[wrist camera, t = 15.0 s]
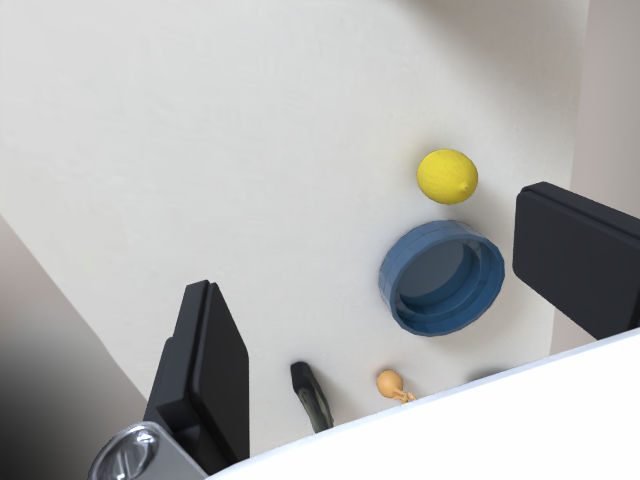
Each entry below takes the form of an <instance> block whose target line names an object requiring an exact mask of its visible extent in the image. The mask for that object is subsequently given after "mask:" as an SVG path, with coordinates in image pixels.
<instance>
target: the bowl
mask: <svg viewBox="0 0 640 480" xmlns="http://www.w3.org/2000/svg"><path fill="white" fill-rule="evenodd" d="M504 277H505V268H504V260H503V257H502V255H501V253H500V251H499V249H498V247H496V246H495V245H494V244H493V243H491V242H490V241H489V240H488V239H486V238H485V237H484V236H482V235H481V234H480V233H478V232H477V231H476V230H474V229H473V228H471V227H470V226H469V225H467V224H464V223H460V222H457V221H453V220H448V221H435V222H431V223H428V224H425V225H423V226H420V227H417V228H415V229H414V230H412V231H411V232H409V233H408V234H406V235H405V236H403V237H402V238H401V239H400V240H399V241H398V242H397V243H396V244H395V245H394V247H393V248H392V249H391V250H390V251H389V252H388V254H387V256H386V258H385V260H384V263H383V265H382V267H381V269H380V277H379V288H380V292H381V296H382V299H383V301H384V302H385V304H386V306H387V307H388V309H389V311H390V313H391V314H392V316H393V318H394V319H395V320H396V322H397V323H398V324H399V325H400V327H401V328H403V329H405V330H407V331H408V332H410V333H412V334H414V335H420V336H426V337H433V336H442V335H447V334H450V333H453V332H455V331H458V330H461V329H463V328H464V327H466V326H468V325H469V324H471V323H472V322H474V321H475V320H477V319H478V318H479V317H480V316H481V315H482V314H483V313H484V312H485V311H486V310H487V309H488V308H489V307H490V306H491V305H492V303H493V302H494V300H495V299H496V297H497V296H498V294H499V292H500V290H501V287H502V283H503V280H504Z"/></svg>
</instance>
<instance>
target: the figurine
mask: <svg viewBox="0 0 640 480" xmlns="http://www.w3.org/2000/svg"><path fill="white" fill-rule="evenodd" d="M377 388H378V390H379V392H380V393H381V394H382V395H383V396H384V397H386V398H394V399H400V400H402V404H405V403H408V399H413V400H417V399H416V398H415V397H414V396H413V395H412V394H411V393H410V392H409V391H408V392H409V393H410V394H409V393H407V394H409V395H407V394H406V393H404V392H402V390H403V380H402V378H401V377H400V375H399V374H398V373H396V372H395V371H392V370H387V371H384V372H382V373H381V374H380V375H379V377H378V379H377ZM400 394H401V395H403V396H404V397H402V396H401V395H400ZM408 396H409V397H410V398H408Z"/></svg>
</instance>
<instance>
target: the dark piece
mask: <svg viewBox="0 0 640 480" xmlns="http://www.w3.org/2000/svg"><path fill="white" fill-rule="evenodd" d="M291 376H292V384H293V389H294V391H295V393H296V394H297V396H298V397H299V399H300V401H301V402H302V404H303V406H304V408H305V410H306V412H307V413H308V415H309V417H310V420H311V424H312V427H313V430H314V432H315V433H319V432H322V431H325V430H328V429H331V428H334V426H333V422H334V420H333V418H332V416H331V414H330V411H329V406H328V403H327V400H326V398H325V396H324V394H323V392H322V390H321V388H320V386H319V384H318V382H317V381H316V379H315V377H314V375H313V373H312V371H311V369H310V367H309V366H308V364H307V363H304V362H298V363H295V364H292V365H291Z"/></svg>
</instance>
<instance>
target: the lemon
mask: <svg viewBox="0 0 640 480" xmlns="http://www.w3.org/2000/svg"><path fill="white" fill-rule="evenodd" d="M417 181H418V185H419V187H420V189H421V190H422V192H423V193H424V194H425V195H426V196H427V197H428V198H430V199H432V200H434V201H436V202H438V203H442V204H449V205H450V204H457V203H460V202H463V201H464V200H466V199H467V198H469V197H470V196H471V195H472V193H473V192H474V191H475V189H476V186H477V183H478V172H477V169H476V167H475V165H474V164H473V162H472V161H471V160H470V159H469V158H468V157H467V156H465V155H464V154H463V153H461V152H458V151H455V150H452V149H441V150H436V151H434V152H432V153H430V154H428V155H427V156H426V157H425V158H424V159H423V160H422V161H421V163H420V165H419V167H418V171H417Z"/></svg>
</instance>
